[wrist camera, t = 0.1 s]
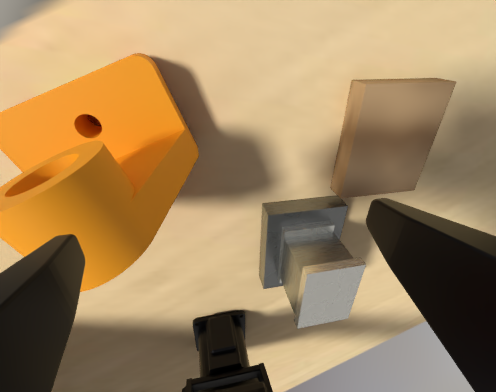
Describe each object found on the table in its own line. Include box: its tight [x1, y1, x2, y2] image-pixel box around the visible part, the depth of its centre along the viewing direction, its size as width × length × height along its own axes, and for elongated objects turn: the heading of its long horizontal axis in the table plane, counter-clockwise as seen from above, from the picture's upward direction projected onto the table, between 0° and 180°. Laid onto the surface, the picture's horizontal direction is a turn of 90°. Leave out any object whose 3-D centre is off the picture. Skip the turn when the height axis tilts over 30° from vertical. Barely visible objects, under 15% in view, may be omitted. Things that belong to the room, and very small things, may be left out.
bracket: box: [0, 53, 199, 292], centre depth 15 cm, size 11×7×12 cm
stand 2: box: [331, 78, 456, 198], centre depth 24 cm, size 10×8×2 cm
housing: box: [277, 220, 366, 329], centre depth 25 cm, size 7×5×6 cm
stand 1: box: [259, 195, 348, 289], centre depth 28 cm, size 10×8×2 cm
